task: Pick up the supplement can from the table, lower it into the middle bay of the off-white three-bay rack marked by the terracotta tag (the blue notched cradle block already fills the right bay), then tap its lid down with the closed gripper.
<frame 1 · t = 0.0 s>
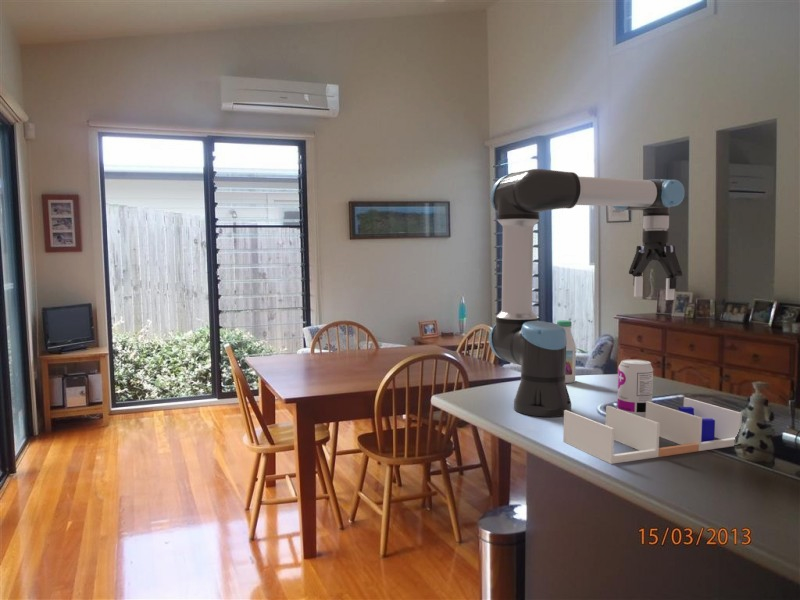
hand: (653, 298, 200), 28 cm above the counter, fingers open, 13 cm apart
can rack: (651, 443, 143), on the counter
blue notched cradle block: (691, 439, 147), resting in can rack
milk bottle: (562, 381, 210), on the counter
supplement can: (634, 421, 162), on the counter
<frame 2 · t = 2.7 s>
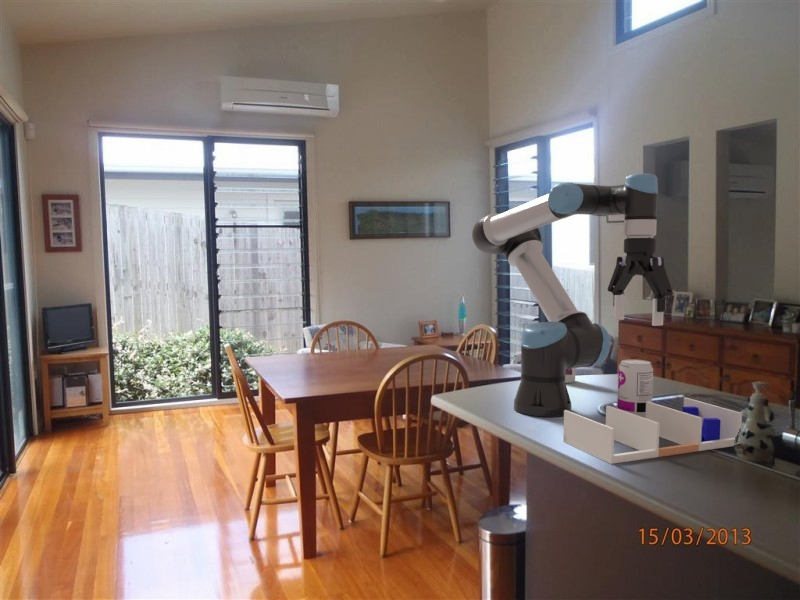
hand: (637, 322, 160), 25 cm above the counter, fingers open, 13 cm apart
blue notched cradle block: (696, 439, 147), resting in can rack
everything else where it was.
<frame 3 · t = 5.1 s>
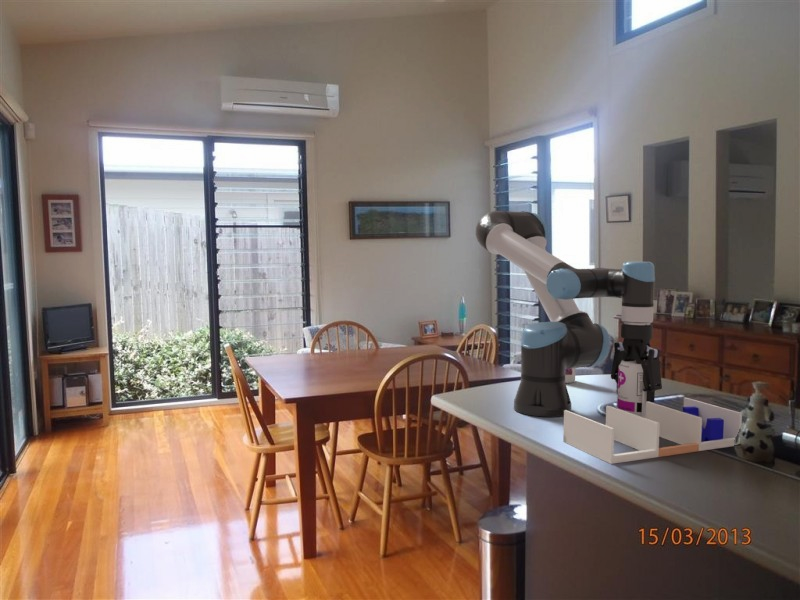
hand: (634, 412, 162), 2 cm above the counter, fingers closed on supplement can, 8 cm apart
supplement can: (634, 420, 162), on the counter, touching gripper
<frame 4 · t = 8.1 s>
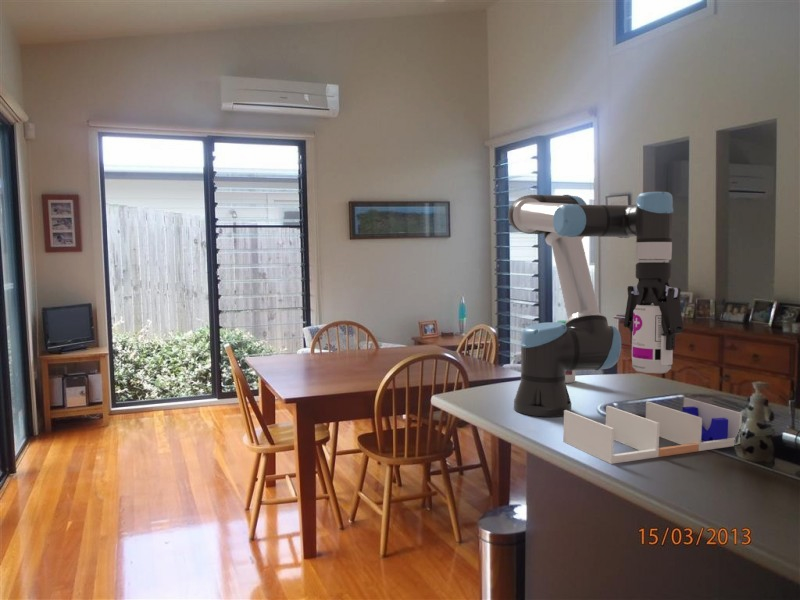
hand: (651, 361, 145), 18 cm above the counter, fingers closed on supplement can, 8 cm apart
supplement can: (651, 371, 145), point 15 cm above the counter, touching gripper
when the fingers open (4 cm above the counter, at t = 10.9 s): supplement can drops 1 cm, resting in can rack.
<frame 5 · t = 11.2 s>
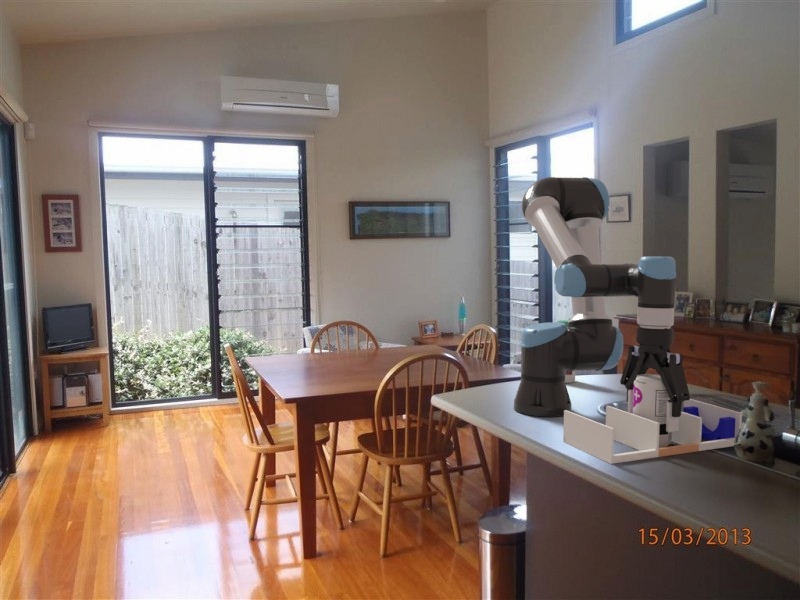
hand: (652, 424, 142), 4 cm above the counter, fingers open, 11 cm apart
blue notched cradle block: (704, 439, 147), resting in can rack
supplement can: (651, 444, 143), resting in can rack
everything else where it was.
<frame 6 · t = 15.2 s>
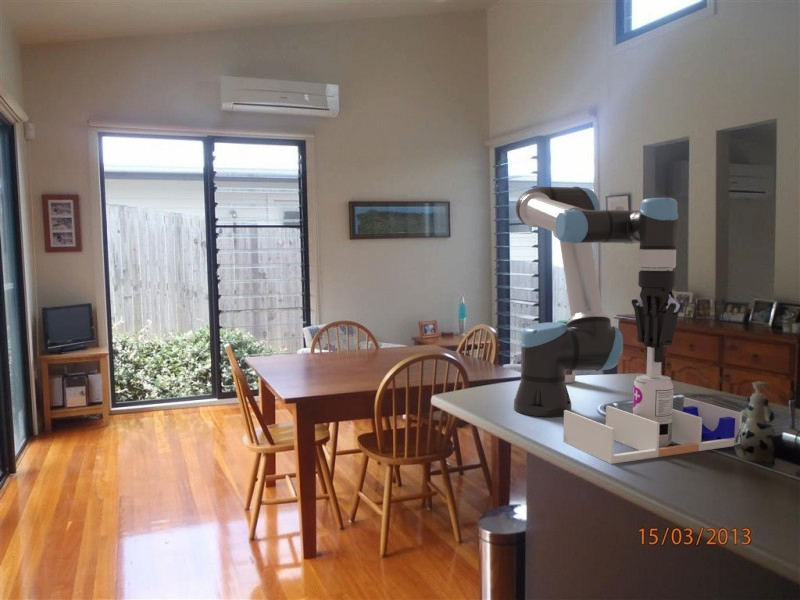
hand: (653, 376, 141), 15 cm above the counter, fingers closed
supplement can: (651, 444, 143), resting in can rack, touching gripper
everything else where it was.
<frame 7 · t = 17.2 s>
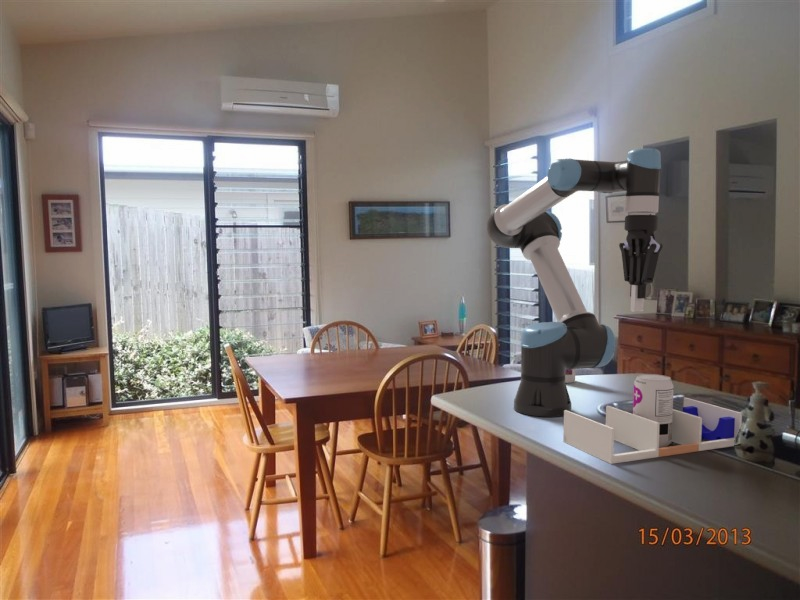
hand: (636, 311, 157), 28 cm above the counter, fingers closed
supplement can: (651, 444, 143), resting in can rack
everything else where it was.
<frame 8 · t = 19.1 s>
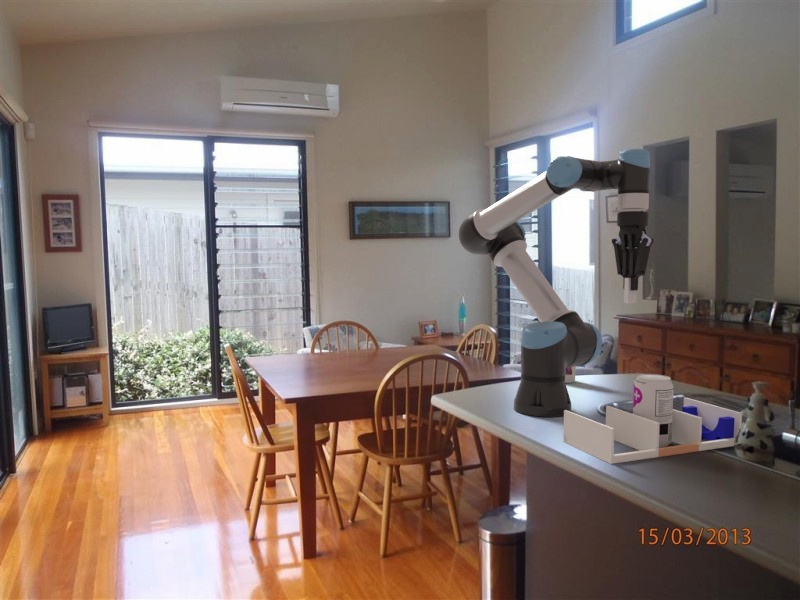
hand: (630, 302, 165), 29 cm above the counter, fingers closed
nothing on the counter moved.
at the end: supplement can 0.1 cm off-centre on the can rack, point 0.0 cm above the can rack's base; supplement can tilted 0°; the gripper is holding nothing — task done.
